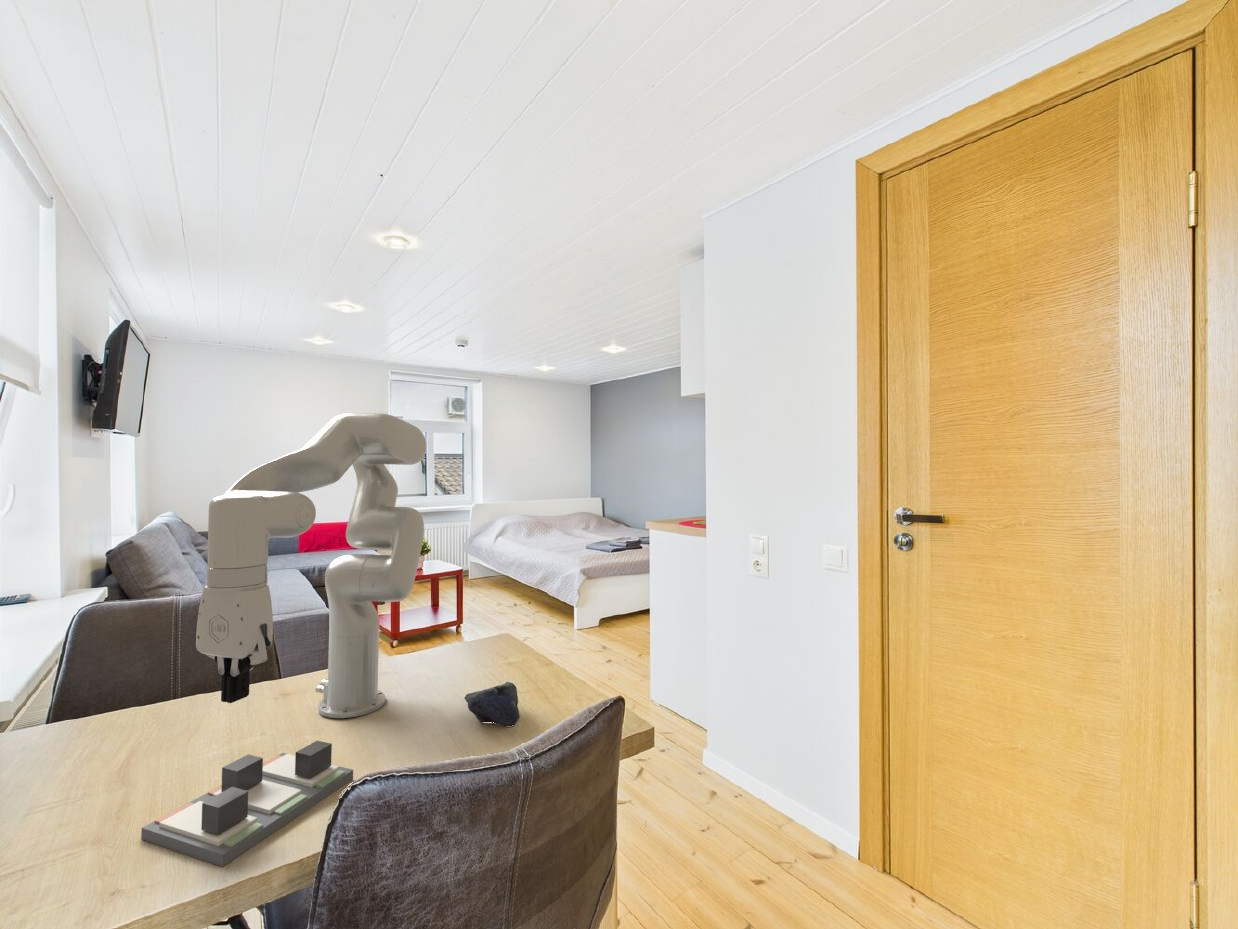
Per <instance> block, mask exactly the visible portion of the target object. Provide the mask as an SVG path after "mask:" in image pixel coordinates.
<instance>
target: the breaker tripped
mask: <svg viewBox="0 0 1238 929" xmlns="http://www.w3.org/2000/svg"><path fill="white" fill-rule="evenodd" d="M263 763H264V758H263V757H261V756H257V755H253V754H246V755H245V756H242V757H241V758H238V759H236V760H234V761H232V762H230V763H229V764H226V765H224V766H223V767H221V785H222V791H221V792H223V791H225V790H227V789H229V788H231V787H235V788H239V789H242V790H248V789H249V788H251V787H253V786H255V785H257V784H258V783H260V782H262V771H263Z"/></svg>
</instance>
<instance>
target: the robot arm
mask: <svg viewBox="0 0 1238 929" xmlns="http://www.w3.org/2000/svg"><path fill="white" fill-rule="evenodd" d="M426 450H427V441H426V437H425V435H424V433H423V431H421V430H420V428H419V427H417V426H415V425H413V424H412V423H410V422H407V421H405V420H403V419H402V418H399V417H397V416H394V415H392V414H388V413H380V412H379V413H376V412H375V413H372V412H370V413H368V412H367V413H366V412H365V413H364V412H360V413H359V412H346V413H341V414H338V415H335V416H334V417H333V418H331V419H330V420H329V421H328V422H327V423H326V424H325V425H324V426H323V427H322V428H321V429H320V430H319V431H318V432H317V433H316V434H315V435H314V436H313V437H312V438H311V439H310V440H309V441H308V442H307V443H306V444H305V445H303V447H301V448H299V449H298V450H295V451H293V452H289V453H287V454H285V455H282V456H280V457H278V458H276V459H273V460H271V461H269V462H267V463H264V464H261V465H259V466H257V467H255V468H253V469H252V470H250V471H248V472H247V473H246V474H244V475H243V476H241V478H239V480H237V481H236V482H235V483H234V484H233V485H232V486H230V488H228V489H227V491H226V492H225V493H224V494H223V495H218V496H215V497H213V498H212V499H211V500H210V502H209V505H208V523H207V525H208V527H207V568H206V570H207V573H206V577H207V578H206V586H204V587H203V590H202V593H201V597H200V600H199V607H198V614H197V622H196V635H195V636H196V638H195V639H196V640H195V649H196V650H197V651H198V652H199V653H201V654H203V655H206V657H209V658H210V659H213V660H215V663H217V671H218V674H219V675H220V676H221V682H220V683H221V685H220V686H221V687H220V688H221V690H220V696H221V697H220V700H221V703H228V704H233V703H235V702H237V701H240V700H242V699H245V698H247V697H248V696H249V695H250V677H251V676H250V675H251V673H250V672H251V671H252V670H253V669H254V666H255V665H260V664H262V663H265V662H267V660H268V652H267V650H269V649H270V648H271V647H272V644H273V636H274V627H273V626H274V622H273V620H274V619H273V618H274V616H273V606H272V605H273V604H272V596H271V591H270V586H269V585H268V576H269V575H268V574H269V572H268V568H269V540H270V539H272V538H286V539H287V538H295V537H298V536H301V535H302V534H304V533H307V531H309V530H310V529H311V527H312V526H313V525H314V523H315V521H316V517H317V512H316V511H317V510H316V506H315V504H314V502H313V501H312V499H311V498H310V497H308V496H307V495H305V494H304V493H303V492H308V491H313V490H316V489H317V490H318V489H320V488H325V487H327V486H330V485H332V484H335V483H336V482H338V481H339V480H341V478H342V477H344V475H345V474H346V472H347V471H348V470H349V469H350V467H351V466H352V467H353V469H354V473H355V476H356V481H357V482H356V483H357V485H356V492H355V496H354V499H353V503H352V507H351V509H350V514H349V518H348V521H347V526H346V530H345V539H346V542H347V543H348V545H349V546H350V547H352V548H355V549H359V550H365V551H366V550H367V551H368V550H369V551H390V552H391V554H388V555H387V554H369V553H368V554H367V553H348V554H343V555H340V556H338V557H336V558H334V559H333V560H332V561H330V563H329V564H328V565H327V567H326V570H325V574H324V586H325V592H326V596H327V602H328V610H329V611H328V613H329V615H328V616H329V617H328V618H329V619H328V620H329V621H328V622H329V623H328V626H329V628H328V629H329V630H328V658H327V659H328V661H327V662H328V663H327V664H328V665H327V679H325V678H324V679H322V680H321V681H320V682H319V683H320V684H318V685H317V686H316V687H315V692H316V693H319V694H323V699H322V700H320V702H319V704H318V708H317V709H318V713H319V715H322V716H323V717H326V718H330V719H350V718H356V717H360V716H364V715H367V714H370V713H372V712H374V711H377V710H379V709H380V708H381V707H383V705H385V703H386V694H385V693H384V692H383V691H381V690H378V689H379V688H378V687H379V654H380V653H379V651H380V649H379V648H380V645H379V644H380V617H379V613H378V611H377V609H376V607H375V605H374V604H373V602H388V603H393V602H394V603H395V602H402V601H405V599H407V598H408V597H409V596H410V594H411V593H412V591H413V587H414V584H415V581H416V580H415V579H416V576H417V571H418V566H419V561H420V558H421V557H420V556H421V551H422V546H423V541H424V537H425V536H424V535H425V524H424V519H423V515H422V514H421V513H420V512H419V511H418V510H417V509H415V508H412V507H407V506H396V505H397V504H396V503H397V499H398V493H399V488H398V484H397V482H396V479H395V478H394V477H393V475H392V473H390V471H389V469H388V468H387V467H386V465H398V466H399V465H401V466H403V465H404V466H406V465H409V466H412V465H416V464H418V463H420V461H423V460H422V459H423V458H424V456H425V454H426Z"/></svg>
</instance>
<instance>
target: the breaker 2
mask: <svg viewBox="0 0 1238 929" xmlns="http://www.w3.org/2000/svg"><path fill="white" fill-rule="evenodd" d="M332 745H333V743H330V742H326V741H321V740H316V741H314V742H312V743H310V744H308V745H306V746H305V747H303V748H301V749H299V750H297V751H295V755H294V756H295V775H297V776H301V777H305V778H309V779H310V778H312V777H314V776H315V775H317V774H319V773H320V772H322V771H324V770H325V769H327V768H328V767H330V766H331V764H332V749H333V746H332Z"/></svg>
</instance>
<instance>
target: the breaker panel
mask: <svg viewBox="0 0 1238 929" xmlns="http://www.w3.org/2000/svg"><path fill="white" fill-rule="evenodd" d="M295 756H296V755H294V754H293V755H292V754H290V753H285V752H282V753H280V754H278V755H274V756H273V757H271V758H269V759H267V760H266V761H263V771H262V782H260V783H258V784H257V785H255V786H253V787H251V788H249V789H248V790H246V791H248V817H247V818H245V819H244V820H242V821H240V822H239V823H237V824H236V825H234V826H232V827H231V828H229V829H227V830H226V831H224V832H222V833H221V834H219V835H215V834H212V833H209V832H206V831H203V830H201V826H202V803H203V802H205V801H207V800H209V799H211V798H212V797H214V796H216V795H218V794H220V793H222V792H221V791H222V784H220V785H219V786H217V787H215V788H213V789H211V790H210V791H207V792H205V793H204V794H203V795H201V796H199V797H197V798H195V799H193V800H191V801H190V802H187V803H185V804H183V805H181V806H179V807H177V808H175V809H173V810H172V811H169V812H168V813H166V814H164V815H162V816H160V817H158V818H157V819H155V820H153V821H152V822H150V823H148V824H146V825H144V826H142V827H141V832H140V834H141V837H140V839H141V840H143V841H146V842H148V843H151V844H155V845H157V846H160V847H164V848H166V849H169V850H172V851H175V852H178V853H180V854H184V855H187V856H189V857H192V858H196V859H198V860H201V861H204V862H207V863H210V864H213V865H216V866H219V867H221V868H223V867H224V866H226V865H228V864H230V862H232V861H234V860H235V859H236V858H238V857H239V856H241V855H243V854H244V853H245V852H247V851H249V850H250V849H251V848H253V847H254V846H256V845H257V844H259V843H260V842H262V841H263V840H265V839H267V838H268V837H269V836H271V835H272V834H274V833H275V832H277V831H278V830H280V829H281V828H283V827H284V826H285V825H287V824H289V823H290V822H292V821H293V820H294V819H296V818H297V817H299V816H300V815H302V814H303V813H305V812H306V811H308V810H309V809H311V808H312V807H314V806H315V805H316V804H319V803H320V802H322V801H323V800H324V799H325V798H327V797H328V796H330V795H332V794H333V793H335V792H336V791H338V790H339V789H341V788H342V787H343V786H345V785H347V784H348V783H349V782H351V781H352V780H354V769H351V768H347V767H344V766H339V765H336V764H332V763H331V766H330V767H328V768H327V769H325V770H324V771H322V772H320V773H319V774H317V775H315V776H314V777H312V778H310V779H309V778H305V777H301V776H297V775H295Z"/></svg>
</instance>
